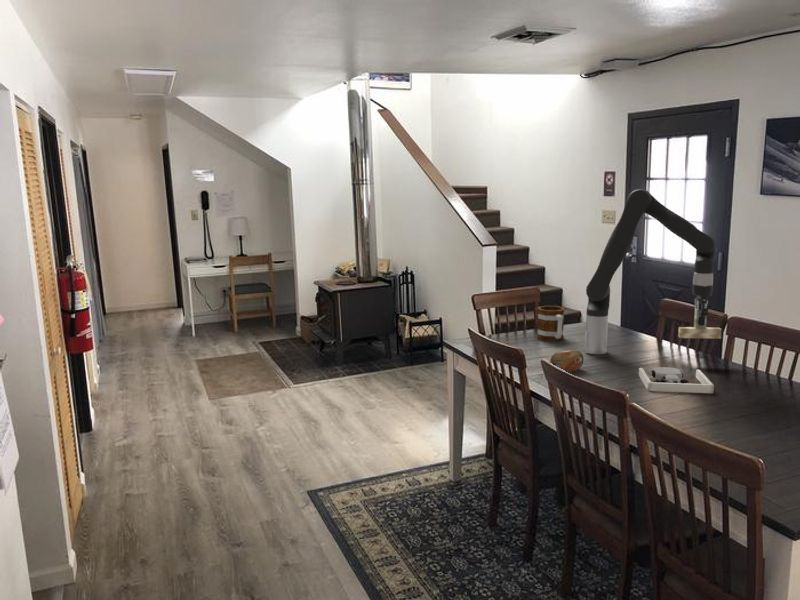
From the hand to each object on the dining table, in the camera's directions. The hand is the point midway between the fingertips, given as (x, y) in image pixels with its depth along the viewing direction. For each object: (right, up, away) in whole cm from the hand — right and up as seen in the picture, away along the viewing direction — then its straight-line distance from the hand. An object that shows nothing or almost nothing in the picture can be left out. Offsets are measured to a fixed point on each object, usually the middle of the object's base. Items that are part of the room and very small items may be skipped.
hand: (700, 324), depth 266 cm
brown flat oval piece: (-57, -19, -4) cm, 60 cm away
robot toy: (-22, -22, -23) cm, 39 cm away
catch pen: (-21, -22, -23) cm, 38 cm away
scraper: (0, -6, +1) cm, 6 cm away
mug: (-51, -9, +46) cm, 69 cm away
